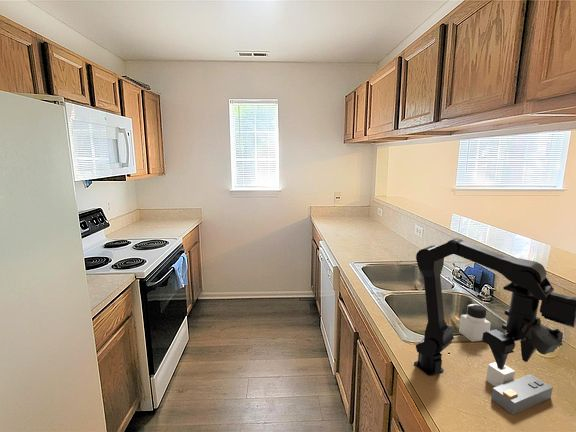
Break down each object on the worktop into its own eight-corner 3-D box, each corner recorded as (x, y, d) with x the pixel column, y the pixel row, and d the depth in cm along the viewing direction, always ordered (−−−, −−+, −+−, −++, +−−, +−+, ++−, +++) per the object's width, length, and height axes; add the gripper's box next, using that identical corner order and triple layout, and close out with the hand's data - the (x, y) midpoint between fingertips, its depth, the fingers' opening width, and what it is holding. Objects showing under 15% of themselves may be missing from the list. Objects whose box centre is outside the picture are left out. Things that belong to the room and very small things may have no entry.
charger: (485, 380, 100) (488, 363, 99) (496, 376, 102) (498, 359, 101) (512, 398, 93) (515, 380, 92) (522, 394, 95) (525, 376, 93)
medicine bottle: (488, 340, 121) (493, 310, 119) (471, 342, 120) (475, 311, 118) (475, 330, 128) (478, 301, 126) (458, 331, 127) (462, 302, 125)
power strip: (491, 398, 92) (493, 386, 92) (528, 384, 98) (530, 372, 98) (512, 414, 87) (514, 401, 86) (550, 398, 93) (553, 385, 92)
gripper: (529, 333, 73) (517, 394, 77) (583, 320, 80) (569, 376, 83) (485, 310, 84) (476, 364, 87) (535, 300, 90) (525, 351, 93)
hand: (512, 364), depth 87 cm, fingers open, 9 cm apart
